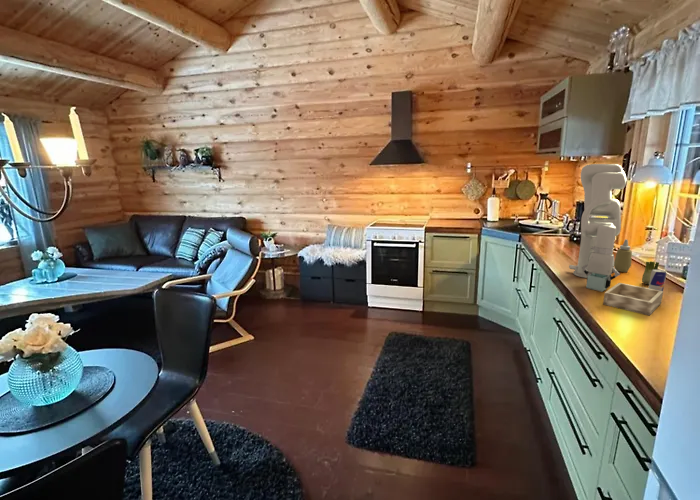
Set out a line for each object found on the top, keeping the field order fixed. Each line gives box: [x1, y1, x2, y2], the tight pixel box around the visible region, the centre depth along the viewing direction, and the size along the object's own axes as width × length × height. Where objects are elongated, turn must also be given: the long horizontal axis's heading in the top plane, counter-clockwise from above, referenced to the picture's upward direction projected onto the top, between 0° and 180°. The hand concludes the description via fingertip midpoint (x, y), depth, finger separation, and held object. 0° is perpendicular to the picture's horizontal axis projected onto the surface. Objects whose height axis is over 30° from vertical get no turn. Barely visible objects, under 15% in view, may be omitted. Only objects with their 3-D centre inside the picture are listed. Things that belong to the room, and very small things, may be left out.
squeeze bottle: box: [614, 239, 633, 273], centre depth 213 cm, size 8×8×18 cm
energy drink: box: [648, 268, 667, 292], centre depth 174 cm, size 5×5×12 cm
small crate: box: [585, 273, 607, 292], centre depth 186 cm, size 7×10×6 cm
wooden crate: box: [602, 282, 664, 317], centre depth 165 cm, size 16×20×6 cm
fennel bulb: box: [641, 261, 660, 286], centre depth 190 cm, size 6×5×12 cm
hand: (597, 285), depth 186 cm, fingers closed on small crate, 7 cm apart
